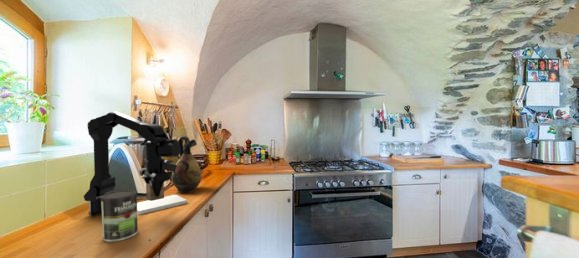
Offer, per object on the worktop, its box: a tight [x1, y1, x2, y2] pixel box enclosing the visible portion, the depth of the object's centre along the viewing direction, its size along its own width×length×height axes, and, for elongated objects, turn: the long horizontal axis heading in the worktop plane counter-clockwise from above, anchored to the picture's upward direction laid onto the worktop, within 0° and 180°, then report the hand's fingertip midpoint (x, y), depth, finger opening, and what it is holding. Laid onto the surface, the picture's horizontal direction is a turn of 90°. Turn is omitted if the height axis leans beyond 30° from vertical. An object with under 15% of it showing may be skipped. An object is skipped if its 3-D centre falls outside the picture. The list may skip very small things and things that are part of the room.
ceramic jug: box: [171, 135, 203, 194], centre depth 143 cm, size 17×15×30 cm
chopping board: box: [137, 194, 188, 216], centre depth 119 cm, size 20×13×2 cm, turn 135°
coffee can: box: [101, 189, 139, 243], centre depth 88 cm, size 10×10×14 cm
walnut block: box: [145, 182, 165, 201], centre depth 104 cm, size 5×5×6 cm
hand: (155, 195), depth 105 cm, fingers closed on walnut block, 5 cm apart
